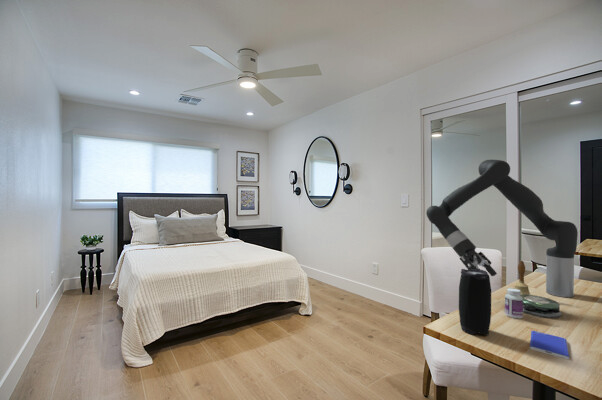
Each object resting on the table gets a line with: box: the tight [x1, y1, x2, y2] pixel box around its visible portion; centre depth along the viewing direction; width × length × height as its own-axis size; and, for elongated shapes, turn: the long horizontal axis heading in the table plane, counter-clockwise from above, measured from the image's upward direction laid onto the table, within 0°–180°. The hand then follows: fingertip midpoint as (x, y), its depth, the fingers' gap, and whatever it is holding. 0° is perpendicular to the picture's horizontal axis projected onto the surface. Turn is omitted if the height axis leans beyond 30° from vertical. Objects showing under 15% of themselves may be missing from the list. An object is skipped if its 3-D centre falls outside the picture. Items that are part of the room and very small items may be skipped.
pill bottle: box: [504, 287, 524, 319], centre depth 103 cm, size 5×5×10 cm
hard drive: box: [529, 330, 570, 360], centre depth 82 cm, size 2×8×12 cm
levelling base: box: [520, 294, 562, 319], centre depth 108 cm, size 14×14×4 cm
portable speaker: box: [458, 268, 492, 337], centre depth 91 cm, size 9×9×20 cm
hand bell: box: [514, 260, 532, 295], centre depth 123 cm, size 8×8×16 cm
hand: (489, 276), depth 110 cm, fingers open, 8 cm apart
